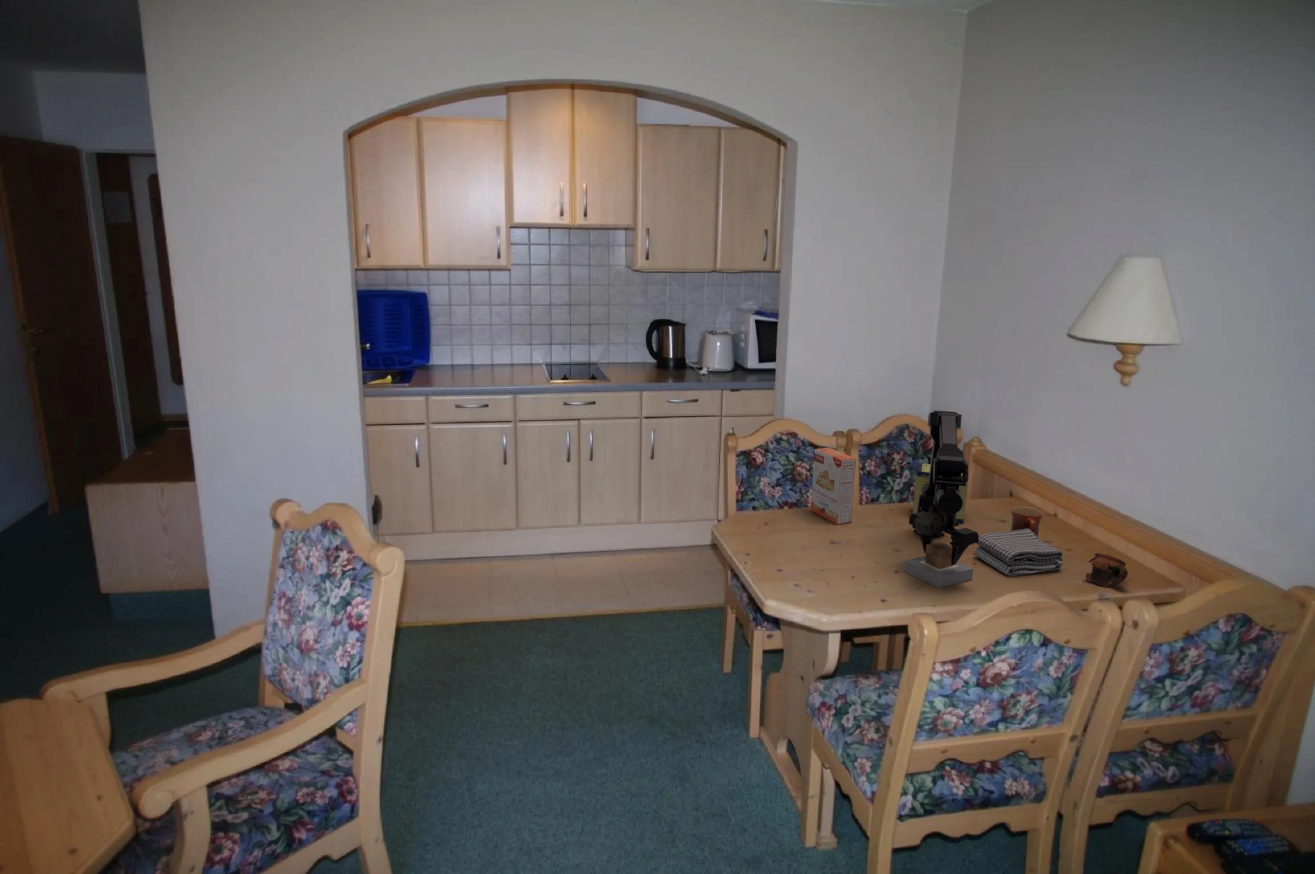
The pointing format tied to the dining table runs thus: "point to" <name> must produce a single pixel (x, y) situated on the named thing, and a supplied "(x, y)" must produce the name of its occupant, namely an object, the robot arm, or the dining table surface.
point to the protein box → (923, 478)
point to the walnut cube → (938, 555)
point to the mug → (1026, 519)
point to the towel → (1018, 552)
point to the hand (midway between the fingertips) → (939, 558)
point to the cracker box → (833, 485)
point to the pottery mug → (1107, 570)
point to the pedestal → (938, 572)
